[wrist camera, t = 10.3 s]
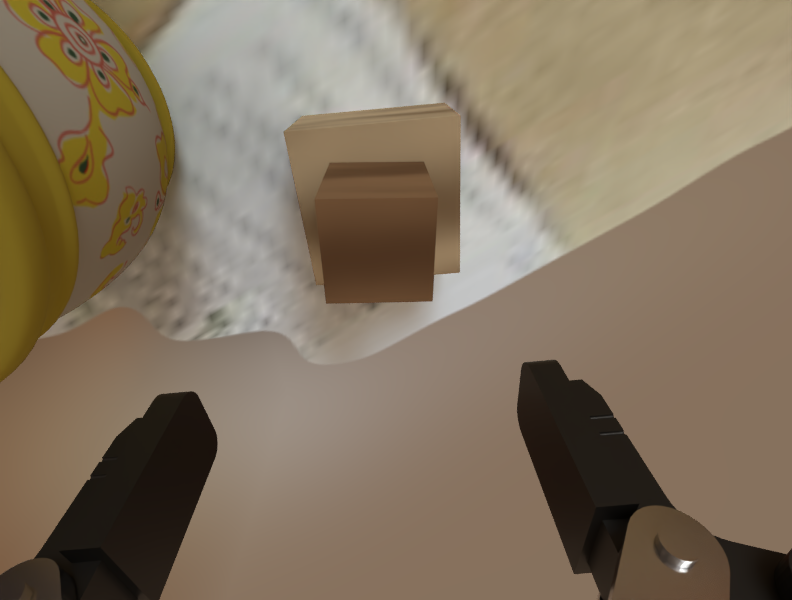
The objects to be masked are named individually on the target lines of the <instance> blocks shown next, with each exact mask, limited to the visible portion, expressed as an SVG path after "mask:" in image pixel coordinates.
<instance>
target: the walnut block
mask: <svg viewBox="0 0 792 600" xmlns="http://www.w3.org/2000/svg"><path fill="white" fill-rule="evenodd" d="M314 200H315V209H316V218H317V226H318V235H319V244H320V253H321V262H322V270H323V279H324V288H325V297H326V304H329V303H375V302H420V301H432V300H433V282H434V264H435V246H436V228H437V210H438V196H437V193H436V191H435V188H434V186H433V183H432V181H431V178H430V176H429V173H428V171H427V168H426V166H425V163H424V162H341V163H329V165H328V168H327V170H326V173H325V175H324V177H323V180H322V182H321V185H320V187H319V189H318V192H317V194H316V197H315V199H314Z"/></svg>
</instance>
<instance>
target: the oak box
mask: <svg viewBox="0 0 792 600" xmlns="http://www.w3.org/2000/svg"><path fill="white" fill-rule="evenodd" d="M460 120H461V116H460V115H459V114H458V113H457V112H455V111H454V110H453V109H452V108H450V107H449V106H448V105H447V104H445V103H437V104H426V105H415V106H404V107H394V108H383V109H372V110H361V111H350V112H340V113H329V114H318V115H307V116H302V117H300V118H299V119H298V120H297V121H296V122H295V123H293V124H292V125H291V126H290V127H289V128H288V129H286V130H285V131H284V136H285V141H286V145H287V150H288V155H289V159H290V164H291V169H292V173H293V178H294V183H295V187H296V192H297V197H298V201H299V206H300V211H301V215H302V220H303V225H304V229H305V234H306V239H307V243H308V248H309V253H310V257H311V262H312V267H313V271H314V276H315V281H316V285H323V284H324V279H323V270H322V262H321V253H320V244H319V235H318V226H317V218H316V209H315V200H314V199H315V197H316V194H317V192H318V189H319V187H320V185H321V182H322V180H323V177H324V175H325V173H326V170H327V168H328V165H329V163H341V162H424V163H425V166H426V168H427V171H428V173H429V176H430V178H431V181H432V183H433V186H434V188H435V191H436V193H437V196H438V210H437V228H436V246H435V264H434V275H436V274H448V273H459V272H460Z"/></svg>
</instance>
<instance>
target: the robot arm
mask: <svg viewBox="0 0 792 600" xmlns="http://www.w3.org/2000/svg"><path fill="white" fill-rule="evenodd" d="M517 413H518V421H519V426H520V430H521V433H522V436H523V438H524V441H525V444H526V446H527V449H528V452H529V454H530V457H531V459H532V462H533V465H534V468H535V470H536V473H537V475H538V478H539V481H540V484H541V486H542V489H543V492H544V494H545V497H546V500H547V503H548V505H549V508H550V511H551V513H552V516H553V519H554V521H555V524H556V527H557V529H558V532H559V535H560V538H561V540H562V543H563V546H564V548H565V551H566V553H567V556H568V559H569V562H570V564H571V567H572V570H573V572H574V574H581V573H592V575H593V577H594V580H595V582H596V584H597V587H598V589H599V595H598V598H597V600H792V549H791V550H790V551H789V552H788V554H783V553H779V552H774V551H770V550H766V549H761V548H757V547H753V546H748V545H744V544H739V543H735V542H731V541H728V540H724V539H721V538H719V537H716V536H713V535H712V534H711V533H710V532H709V531H708V530H707V529H706V528H705V527H704V526H703V525H701V524H700V523H699V522H698V521H696V520H695V519H693V518H692V517H690V516H689V515H686V514H685V513H683V512H681V511H678V510H676V508H675V507H674V506H673V505H672V504H671V503H670V501H669V500H668V499H667V497H666V495H665V494H664V493H663V491H662V489H661V488H660V486H659V485H658V483H657V482H656V480H655V478H654V477H653V475H652V474H651V472H650V471H649V469H648V467H647V466H646V464H645V463H644V461H643V460H642V458H641V457H640V455H639V453H638V452H637V450H636V449H635V447H634V446H633V444H632V442H631V441H630V439H629V438H628V436H627V435H625V434H624V432H623V428H622V427H621V425H620V424H619V422H618V421H617V419H616V418H614V416H613V413H612V411H611V410H610V408H609V407H608V405H607V403H606V402H605V400H604V399H603V397H602V396H601V395H600V394H599V393H598V392H597V391H595V390H594V389H593V388H591V387H590V386H589V385H588V384H587V383H585V382H584V381H583V380H572V381H569V379H568V378H567V376H566V374H565V373H564V371H563V369H562V367H561V365H560V364H559V363H558V361H556V360H546V361H536V362H525V363H523V365H522V368H521V376H520V385H519V395H518V403H517ZM216 453H217V435H216V432H215V429H214V427H213V425H212V423H211V421H210V419H209V417H208V415H207V413H206V411H205V409H204V407H203V405H202V403H201V401H200V399H199V397H198V395H197V394H196V393H195V392H179V393H169V394H161V395H158V396H157V397H156V398H155V399H154V401H153V402H152V404H151V405H150V407H149V408H148V410H147V411H146V413H145V415H144V416H143V418H137V419H135V420H134V421H133V422H132V423H131V424H130V425H129V426H128V427H127V428H125V429H124V430H123V431H122V432H121V433H120V434H119V435H118V436H117V437H116V438H115V440H114V441H113V443H112V444H111V446H110V447H109V448H108V450H107V451H106V453H105V454H104V456H103V457H102V458H103V460H102V462H99V463H98V465H97V467H96V468H95V469H94V471H93V473H92V474H91V479H90V480H87V481H86V483H85V484H84V486H83V487H82V489H81V490H80V492H79V493H78V495H77V496H76V498H75V499H74V501H73V502H72V504H71V505H70V507H69V508H68V510H67V512H66V513H65V514H64V516H63V517H62V519H61V520H60V522H59V523H58V525H57V526H56V528H55V529H54V531H53V532H52V534H51V535H50V537H49V538H48V540H47V541H46V543H45V544H44V546H43V547H42V549H41V550H40V551H39V553H38V554H37V555H36V557H35V558H34V559H31V560H27V561H25V562H22V563H20V564H18V565H16V566H14V567H12V568H10V569H9V570H7V571H6V572H4V573H3V574H1V575H0V600H159V599H160V596H161V594H162V591H163V588H164V586H165V584H166V581H167V579H168V576H169V573H170V571H171V568H172V566H173V563H174V561H175V558H176V556H177V553H178V551H179V548H180V545H181V543H182V540H183V538H184V535H185V533H186V530H187V528H188V525H189V523H190V520H191V518H192V515H193V513H194V510H195V508H196V505H197V503H198V500H199V497H200V495H201V492H202V490H203V487H204V485H205V482H206V479H207V477H208V475H209V472H210V470H211V467H212V464H213V462H214V459H215V457H216Z"/></svg>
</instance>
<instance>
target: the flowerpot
mask: <svg viewBox="0 0 792 600" xmlns="http://www.w3.org/2000/svg"><path fill="white" fill-rule="evenodd" d="M174 158H175V140H174V131H173V126H172V121H171V117H170V113H169V109H168V106H167V103H166V100H165V98H164V95H163V93H162V91H161V88H160V86H159V84H158V82H157V80H156V78H155V76H154V74H153V73H152V71H151V69H150V67H149V66H148V64H147V62H146V61H145V59H144V58H143V56H142V55H141V53H140V52H139V51H138V49H137V48H136V46H135V45H134V44H133V43H132V41H131V40H130V39H129V38H128V36H127V35H126V34H125V33H124V32H123V31H122V30H121V29H120V27H119V26H118V25H117V24H116V23H115V22H114V21H113V20H112V19H111V18H110V17H109V16H108V15H107V14H106V13H104V12H103V11H102V10H101V9H100V8H99V7H98V6H97V5H95V4H94V3H93V2H92V1H90V0H0V382H1V381H3V380H4V379H5V378H6V377H7V376H9V375H10V374H11V373H12V372H13V371H14V370H16V368H17V367H18V366H19V365H20V364H21V363H22V362H23V361H24V360H25V358H26V357H27V356H28V354H29V353H30V351H31V350H32V349H33V347H34V345H35V343H36V341H37V340H38V338H39V337H40V336H42V335H43V334H44V333H45V332H46V331H48V330H49V328H50V327H51V326H52V325H53V324H54V323H55V322H56V321H57V319H58V318H60V317H62V316H63V315H65V314H67V313H69V312H70V311H72V310H74V309H75V308H77V307H78V306H80V305H81V304H83V303H84V302H86V301H87V300H89V299H90V298H92V297H93V296H94V295H96V294H97V293H98V292H100V291H101V290H102V289H103V288H105V287H106V286H107V285H108V284H109V283H111V282H112V281H113V280H114V279H115V278H116V277H118V276H119V275H120V274H121V273H122V272H123V271H124V270H125V269H126V268H127V267H128V266H129V265H130V264H131V262H132V261H133V260H134V259H135V258H136V257H137V255H138V254H139V253H140V251H141V250H142V249H143V247H144V246H145V245H146V243H147V241H148V240H149V238H150V236H151V235H152V233H153V231H154V229H155V226H156V224H157V222H158V220H159V217H160V214H161V211H162V208H163V204H164V200H165V195H166V189H167V186H168V184H169V181H170V178H171V175H172V171H173V166H174Z"/></svg>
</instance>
